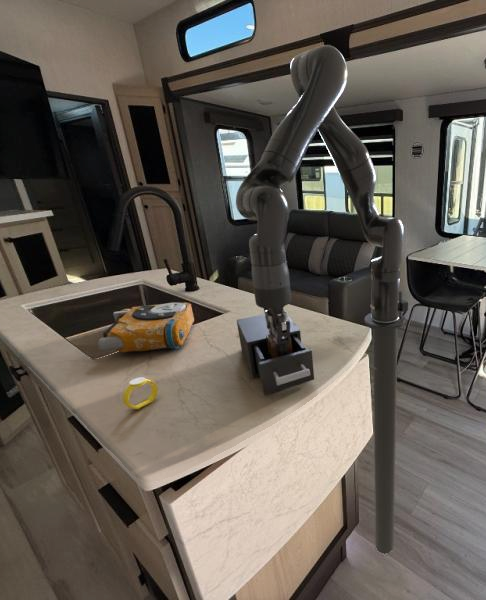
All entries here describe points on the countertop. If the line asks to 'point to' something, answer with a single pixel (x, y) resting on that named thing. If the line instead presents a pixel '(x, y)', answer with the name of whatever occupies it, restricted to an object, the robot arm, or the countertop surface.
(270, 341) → the block
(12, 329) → the countertop surface
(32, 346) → the countertop surface
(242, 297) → the countertop surface
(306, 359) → the open drawer cabinet
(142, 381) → the watch
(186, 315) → the device
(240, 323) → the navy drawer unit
